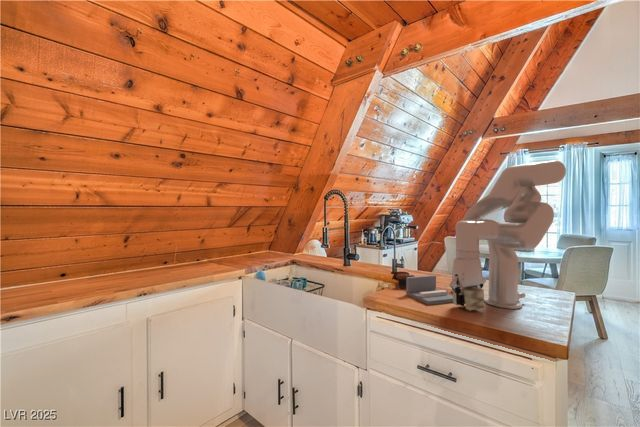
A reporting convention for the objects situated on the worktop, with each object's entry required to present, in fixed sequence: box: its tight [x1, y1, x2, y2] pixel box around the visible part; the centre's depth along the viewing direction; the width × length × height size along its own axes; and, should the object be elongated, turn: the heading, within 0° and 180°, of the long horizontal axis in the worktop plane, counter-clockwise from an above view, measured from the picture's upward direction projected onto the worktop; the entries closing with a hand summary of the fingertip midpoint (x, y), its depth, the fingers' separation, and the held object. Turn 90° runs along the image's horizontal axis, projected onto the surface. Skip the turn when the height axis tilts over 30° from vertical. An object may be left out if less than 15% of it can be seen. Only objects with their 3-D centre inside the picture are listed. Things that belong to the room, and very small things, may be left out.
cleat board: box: [405, 274, 453, 306], centre depth 119 cm, size 14×14×8 cm
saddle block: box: [452, 286, 485, 311], centre depth 106 cm, size 6×8×6 cm
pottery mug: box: [391, 270, 415, 290], centre depth 136 cm, size 12×10×8 cm
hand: (468, 303), depth 106 cm, fingers closed on saddle block, 6 cm apart
